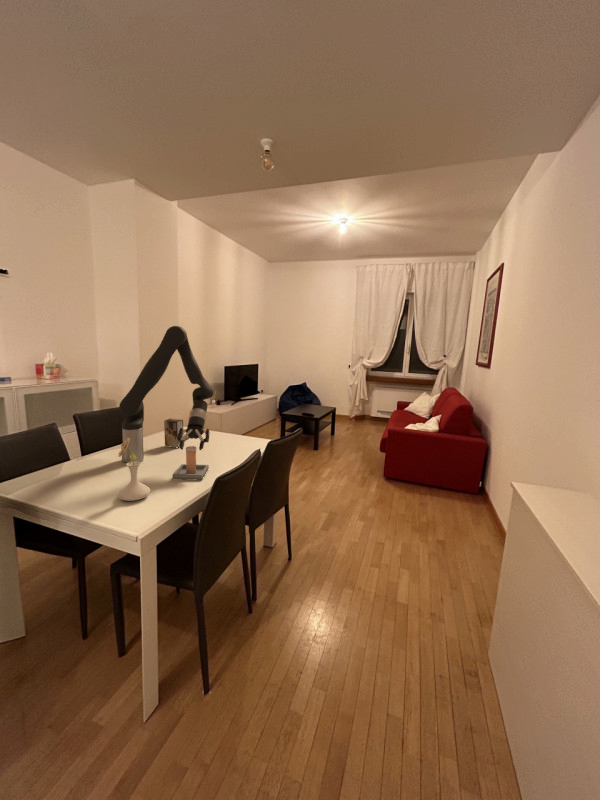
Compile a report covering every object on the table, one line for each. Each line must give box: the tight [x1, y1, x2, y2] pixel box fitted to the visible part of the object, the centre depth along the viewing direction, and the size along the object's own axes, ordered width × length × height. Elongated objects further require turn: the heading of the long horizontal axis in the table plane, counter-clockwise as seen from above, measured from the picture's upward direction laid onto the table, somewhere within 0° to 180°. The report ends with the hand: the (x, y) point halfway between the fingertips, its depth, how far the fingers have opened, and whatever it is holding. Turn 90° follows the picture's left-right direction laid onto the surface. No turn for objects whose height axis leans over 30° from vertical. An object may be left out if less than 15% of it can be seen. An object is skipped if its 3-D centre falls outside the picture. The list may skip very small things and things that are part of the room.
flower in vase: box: [117, 437, 151, 502], centre depth 126 cm, size 13×11×25 cm
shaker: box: [185, 445, 197, 474], centre depth 153 cm, size 5×5×12 cm
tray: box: [172, 463, 210, 481], centre depth 154 cm, size 13×13×2 cm
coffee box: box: [163, 418, 184, 447], centre depth 194 cm, size 9×6×16 cm
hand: (190, 449), depth 151 cm, fingers open, 8 cm apart
